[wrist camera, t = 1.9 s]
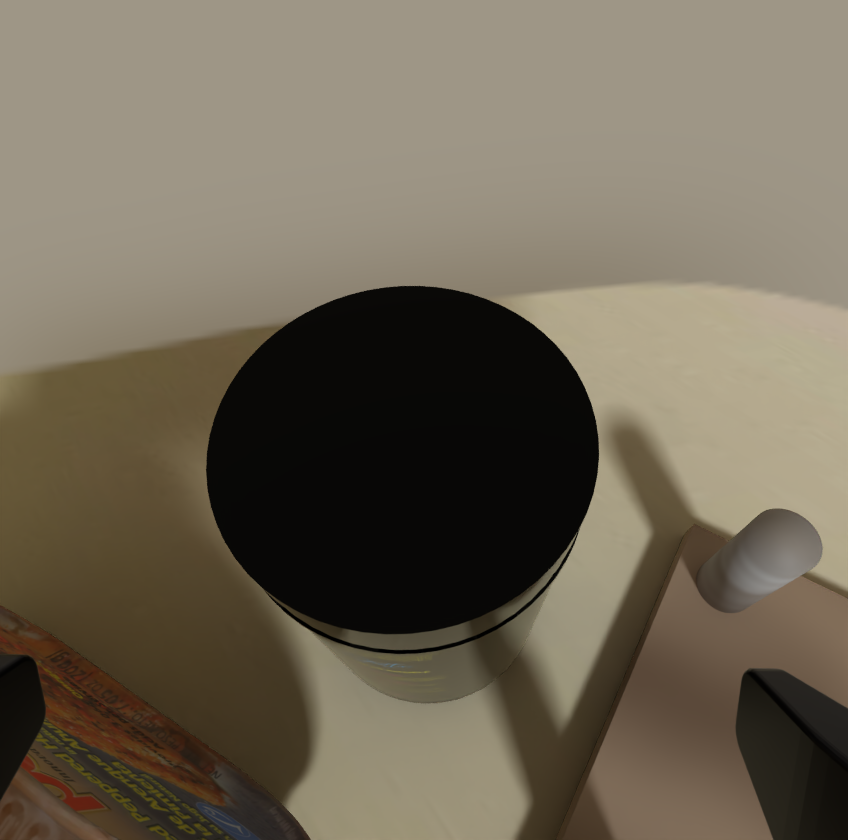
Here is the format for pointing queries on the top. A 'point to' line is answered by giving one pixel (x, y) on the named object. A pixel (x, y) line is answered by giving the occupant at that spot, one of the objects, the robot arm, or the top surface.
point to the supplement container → (406, 482)
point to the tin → (122, 764)
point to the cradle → (709, 685)
